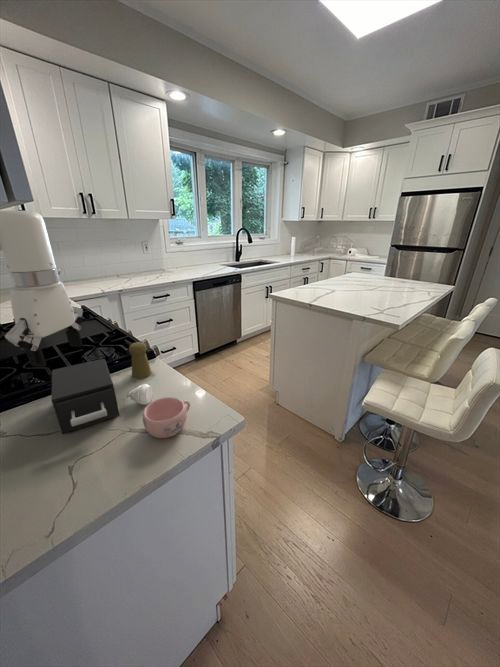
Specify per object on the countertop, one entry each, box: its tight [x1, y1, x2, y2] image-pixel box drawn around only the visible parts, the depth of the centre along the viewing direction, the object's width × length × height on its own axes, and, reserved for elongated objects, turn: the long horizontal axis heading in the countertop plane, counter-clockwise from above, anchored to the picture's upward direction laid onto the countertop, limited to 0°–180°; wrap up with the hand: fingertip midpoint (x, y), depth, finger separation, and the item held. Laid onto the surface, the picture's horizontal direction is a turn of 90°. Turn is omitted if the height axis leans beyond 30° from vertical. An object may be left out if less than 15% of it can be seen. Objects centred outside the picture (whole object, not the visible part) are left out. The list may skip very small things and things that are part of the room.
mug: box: [142, 396, 191, 439], centre depth 67 cm, size 12×10×6 cm
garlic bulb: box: [126, 383, 153, 406], centre depth 76 cm, size 6×6×5 cm
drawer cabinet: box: [51, 358, 120, 434], centre depth 73 cm, size 16×13×10 cm
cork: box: [128, 341, 152, 380], centre depth 88 cm, size 6×6×11 cm
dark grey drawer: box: [56, 388, 118, 434], centre depth 69 cm, size 20×11×8 cm, turn 33°
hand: (59, 355), depth 61 cm, fingers open, 9 cm apart
